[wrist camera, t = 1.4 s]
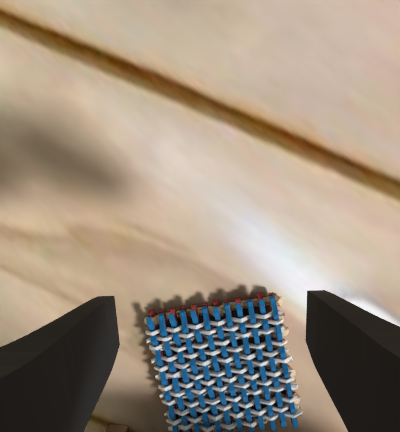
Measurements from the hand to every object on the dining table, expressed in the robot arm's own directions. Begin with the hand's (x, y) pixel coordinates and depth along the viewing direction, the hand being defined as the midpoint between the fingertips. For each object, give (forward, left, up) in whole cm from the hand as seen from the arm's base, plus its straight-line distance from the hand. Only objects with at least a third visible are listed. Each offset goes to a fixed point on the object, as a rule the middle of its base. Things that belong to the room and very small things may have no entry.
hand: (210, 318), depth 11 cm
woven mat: (-1, +9, -11) cm, 14 cm away
